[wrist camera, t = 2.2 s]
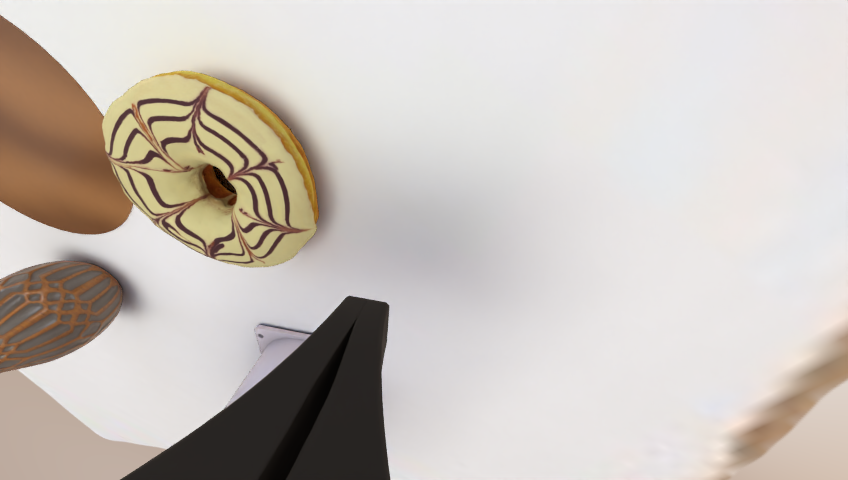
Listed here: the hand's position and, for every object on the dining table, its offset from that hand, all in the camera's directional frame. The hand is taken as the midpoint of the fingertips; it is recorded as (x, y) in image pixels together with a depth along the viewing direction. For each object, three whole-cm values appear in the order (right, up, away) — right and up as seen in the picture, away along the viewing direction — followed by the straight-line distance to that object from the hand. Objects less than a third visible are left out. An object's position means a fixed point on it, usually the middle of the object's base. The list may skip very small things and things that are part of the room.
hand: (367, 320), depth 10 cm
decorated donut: (-9, +7, +9) cm, 14 cm away
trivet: (-24, +10, +9) cm, 28 cm away
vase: (-26, -1, +16) cm, 31 cm away
